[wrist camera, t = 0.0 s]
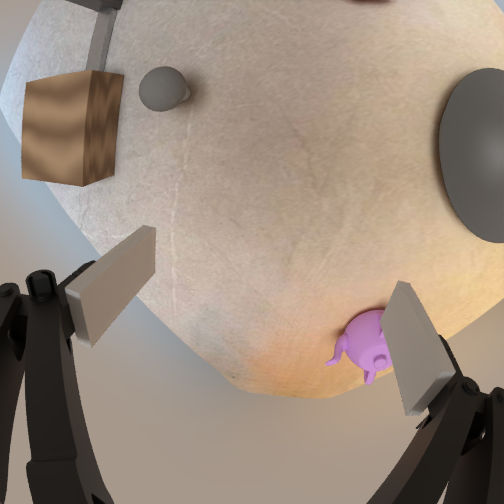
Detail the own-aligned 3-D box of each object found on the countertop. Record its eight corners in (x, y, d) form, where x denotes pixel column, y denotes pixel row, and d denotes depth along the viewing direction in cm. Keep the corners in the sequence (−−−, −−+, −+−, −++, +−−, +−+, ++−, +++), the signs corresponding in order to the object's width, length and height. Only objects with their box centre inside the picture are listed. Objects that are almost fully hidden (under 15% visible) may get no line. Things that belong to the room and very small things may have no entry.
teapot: (413, 330, 47) (427, 362, 39) (354, 365, 53) (359, 398, 45) (387, 289, 45) (401, 321, 37) (322, 331, 50) (324, 366, 42)
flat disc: (525, 72, 23) (539, 71, 19) (543, 216, 33) (555, 224, 29) (406, 75, 31) (417, 71, 27) (438, 249, 41) (449, 260, 37)
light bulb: (205, 108, 37) (178, 104, 28) (167, 116, 38) (133, 116, 29) (199, 70, 35) (171, 56, 26) (162, 80, 36) (127, 72, 27)
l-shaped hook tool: (107, -5, 29) (65, -23, 18) (125, -9, 29) (84, -31, 18) (84, 105, 39) (35, 108, 28) (101, 104, 38) (51, 106, 28)
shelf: (58, 82, 37) (26, 82, 29) (124, 75, 36) (92, 69, 28) (52, 168, 44) (22, 178, 37) (114, 174, 43) (82, 186, 36)
